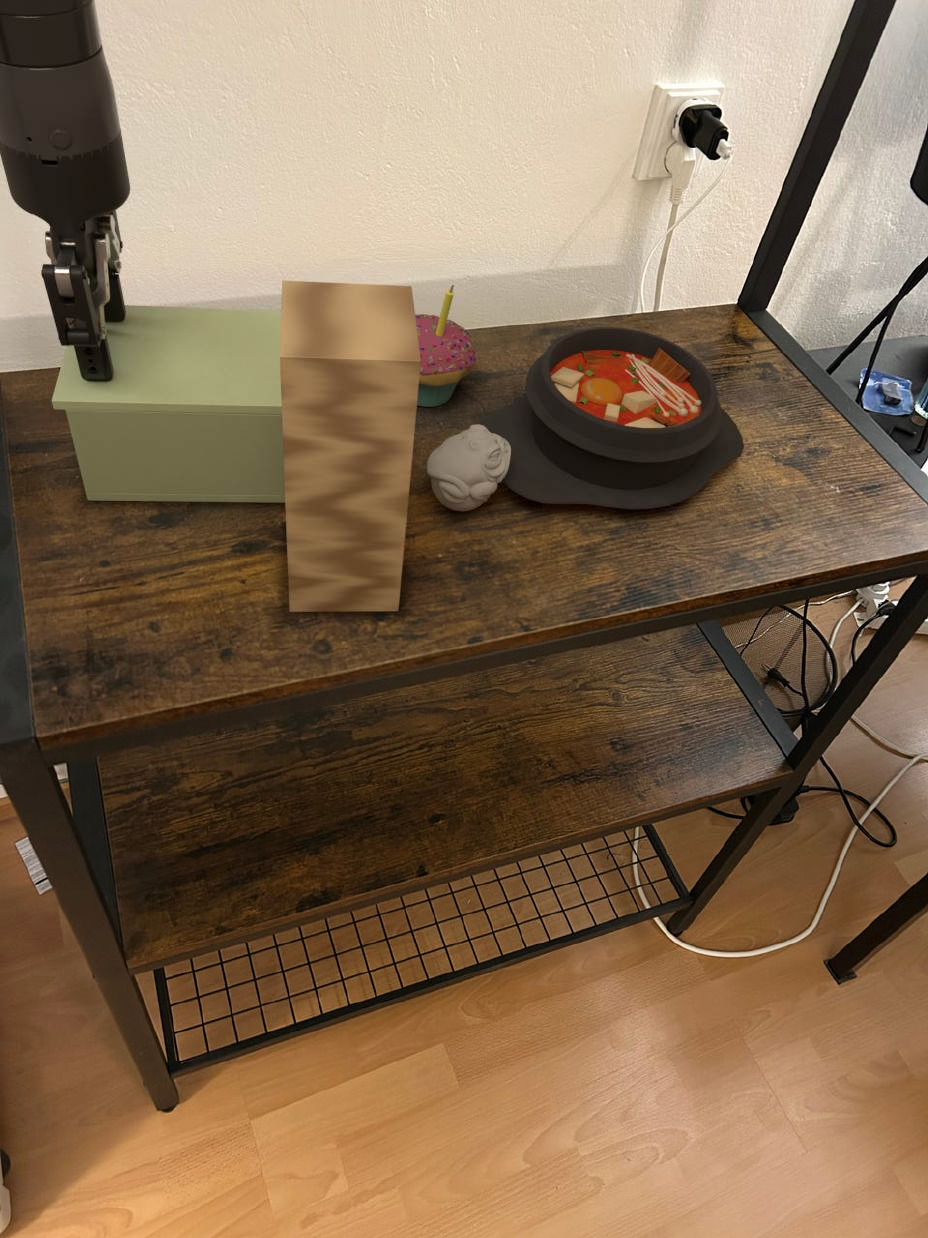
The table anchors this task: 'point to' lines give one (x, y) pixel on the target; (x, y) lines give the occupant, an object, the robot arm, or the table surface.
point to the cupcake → (442, 355)
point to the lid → (182, 363)
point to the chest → (179, 456)
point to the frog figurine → (468, 467)
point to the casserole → (615, 423)
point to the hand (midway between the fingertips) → (105, 347)
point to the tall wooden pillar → (347, 441)
